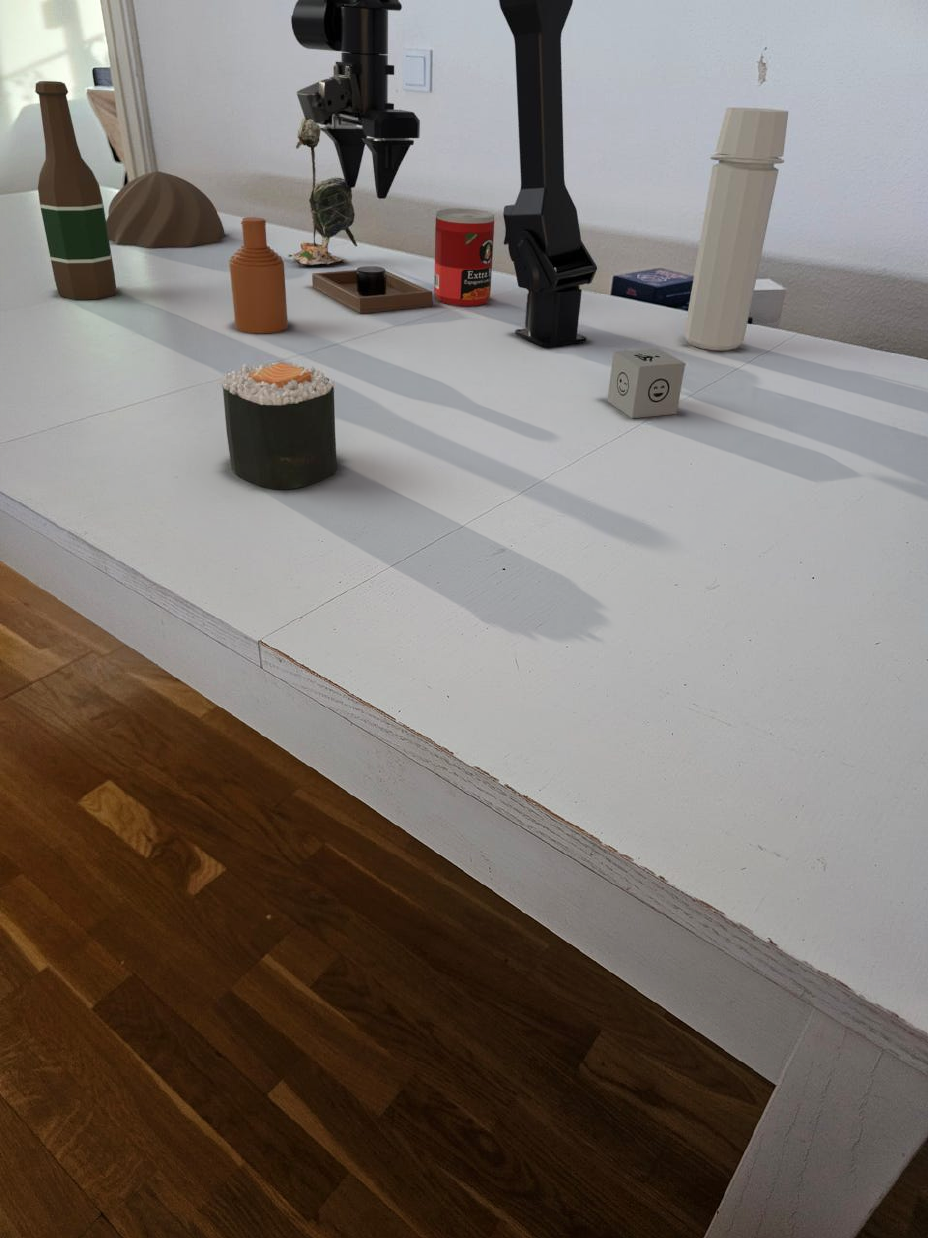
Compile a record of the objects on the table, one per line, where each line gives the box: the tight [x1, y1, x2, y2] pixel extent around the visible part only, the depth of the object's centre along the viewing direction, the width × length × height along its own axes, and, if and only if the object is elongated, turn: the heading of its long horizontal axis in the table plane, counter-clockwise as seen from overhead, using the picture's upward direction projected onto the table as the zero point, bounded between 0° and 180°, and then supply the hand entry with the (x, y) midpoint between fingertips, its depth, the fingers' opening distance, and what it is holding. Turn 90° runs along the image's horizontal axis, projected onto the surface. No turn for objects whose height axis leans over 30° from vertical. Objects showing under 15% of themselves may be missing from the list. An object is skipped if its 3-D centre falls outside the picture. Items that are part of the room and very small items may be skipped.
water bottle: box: [683, 106, 789, 352], centre depth 104 cm, size 9×8×25 cm
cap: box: [356, 265, 387, 296], centre depth 122 cm, size 4×4×3 cm
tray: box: [311, 269, 433, 315], centre depth 123 cm, size 16×11×2 cm
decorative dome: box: [106, 170, 226, 249], centre depth 151 cm, size 19×20×10 cm
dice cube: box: [606, 347, 686, 419], centre depth 88 cm, size 5×5×5 cm
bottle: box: [228, 216, 289, 335], centre depth 105 cm, size 6×6×12 cm
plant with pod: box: [288, 117, 358, 266], centre depth 136 cm, size 8×11×20 cm
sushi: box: [219, 361, 338, 490], centre depth 71 cm, size 8×8×8 cm
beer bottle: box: [34, 80, 117, 301], centre depth 112 cm, size 8×8×24 cm
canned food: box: [433, 208, 495, 307], centre depth 121 cm, size 8×8×11 cm
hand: (365, 192), depth 119 cm, fingers open, 9 cm apart
